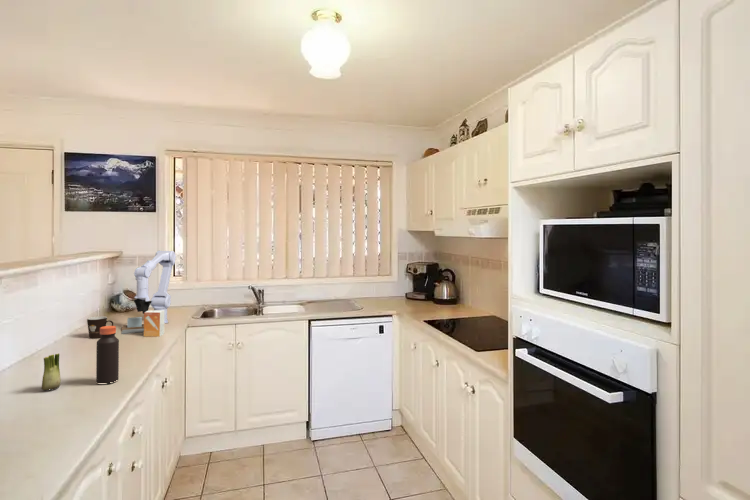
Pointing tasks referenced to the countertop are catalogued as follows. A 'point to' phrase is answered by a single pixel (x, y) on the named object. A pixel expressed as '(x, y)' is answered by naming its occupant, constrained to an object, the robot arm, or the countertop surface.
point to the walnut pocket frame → (132, 327)
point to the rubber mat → (132, 331)
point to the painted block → (134, 322)
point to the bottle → (107, 356)
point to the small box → (153, 323)
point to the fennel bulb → (51, 372)
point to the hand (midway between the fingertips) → (142, 312)
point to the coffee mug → (96, 326)
